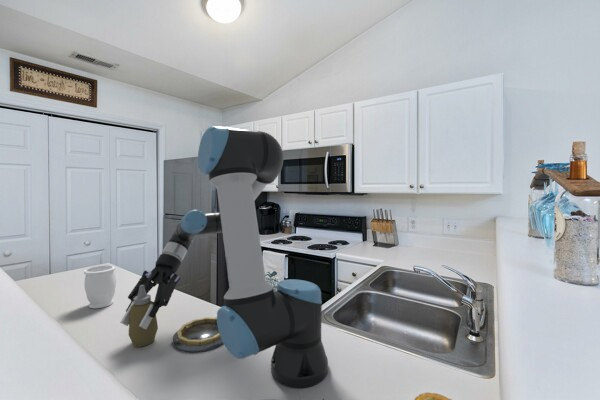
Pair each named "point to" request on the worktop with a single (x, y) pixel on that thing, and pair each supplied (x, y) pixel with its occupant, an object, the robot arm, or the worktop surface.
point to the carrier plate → (198, 336)
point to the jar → (100, 285)
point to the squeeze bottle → (136, 315)
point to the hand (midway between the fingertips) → (133, 325)
